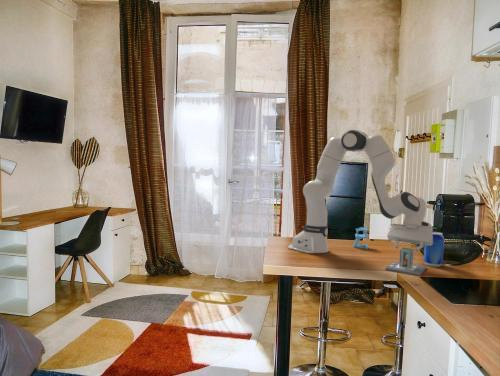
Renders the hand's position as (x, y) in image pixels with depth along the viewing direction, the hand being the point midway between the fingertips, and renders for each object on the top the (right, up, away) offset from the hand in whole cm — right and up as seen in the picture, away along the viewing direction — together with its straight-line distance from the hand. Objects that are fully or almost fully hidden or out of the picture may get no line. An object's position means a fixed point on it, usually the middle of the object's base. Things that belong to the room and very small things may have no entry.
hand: (406, 249), depth 182 cm
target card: (0, -10, +1) cm, 10 cm away
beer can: (+17, -10, +11) cm, 23 cm away
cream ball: (+1, -4, +1) cm, 4 cm away
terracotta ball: (-1, -6, +1) cm, 6 cm away
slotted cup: (0, -9, +1) cm, 9 cm away
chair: (-9, -6, +46) cm, 47 cm away
